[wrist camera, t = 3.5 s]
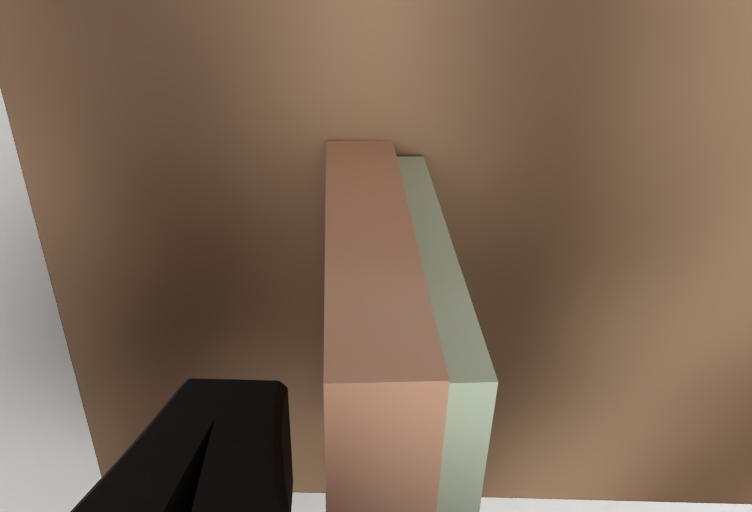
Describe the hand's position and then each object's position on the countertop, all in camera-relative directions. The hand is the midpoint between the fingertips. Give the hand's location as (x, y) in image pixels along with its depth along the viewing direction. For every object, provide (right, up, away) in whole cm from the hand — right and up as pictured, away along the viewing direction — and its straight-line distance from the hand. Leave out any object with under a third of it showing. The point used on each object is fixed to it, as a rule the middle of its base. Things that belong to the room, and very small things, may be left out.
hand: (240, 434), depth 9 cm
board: (+4, +2, +4) cm, 6 cm away
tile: (+2, +2, +3) cm, 4 cm away
